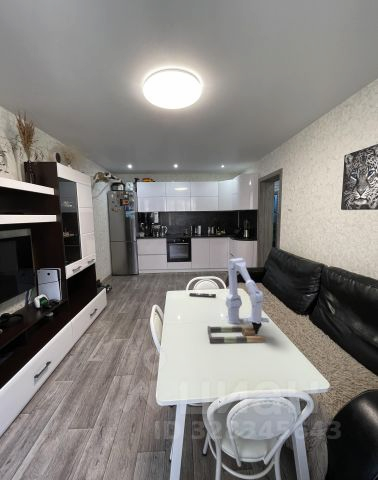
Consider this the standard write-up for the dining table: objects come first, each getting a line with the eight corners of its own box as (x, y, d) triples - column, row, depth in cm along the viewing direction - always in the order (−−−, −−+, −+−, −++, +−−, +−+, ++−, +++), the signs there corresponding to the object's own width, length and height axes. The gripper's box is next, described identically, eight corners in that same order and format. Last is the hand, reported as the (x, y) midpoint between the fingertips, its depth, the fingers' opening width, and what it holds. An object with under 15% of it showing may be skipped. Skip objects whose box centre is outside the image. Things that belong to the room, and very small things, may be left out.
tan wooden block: (241, 333, 131) (242, 326, 130) (251, 332, 131) (251, 325, 131) (244, 338, 125) (245, 331, 124) (254, 338, 125) (255, 331, 125)
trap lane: (207, 330, 134) (207, 326, 134) (256, 329, 135) (256, 325, 134) (209, 343, 121) (209, 338, 121) (264, 342, 122) (264, 337, 121)
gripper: (246, 315, 122) (245, 337, 124) (271, 315, 122) (270, 337, 124) (243, 309, 129) (242, 330, 131) (266, 309, 129) (265, 330, 131)
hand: (255, 333), depth 128 cm, fingers closed
